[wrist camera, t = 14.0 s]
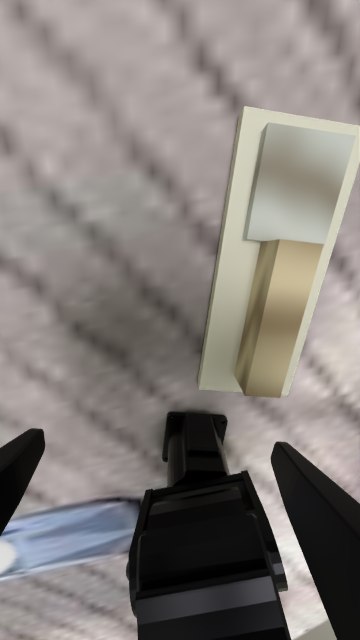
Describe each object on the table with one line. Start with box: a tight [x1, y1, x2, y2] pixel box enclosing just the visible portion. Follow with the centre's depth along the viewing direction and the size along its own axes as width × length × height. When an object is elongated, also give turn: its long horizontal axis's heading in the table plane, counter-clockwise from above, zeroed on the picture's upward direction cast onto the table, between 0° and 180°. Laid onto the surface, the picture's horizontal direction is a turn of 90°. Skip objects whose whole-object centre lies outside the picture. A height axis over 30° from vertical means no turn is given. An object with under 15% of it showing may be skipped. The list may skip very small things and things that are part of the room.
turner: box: [234, 122, 356, 398], centre depth 16 cm, size 19×6×3 cm, turn 174°
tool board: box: [198, 106, 360, 396], centre depth 18 cm, size 22×9×1 cm, turn 174°
